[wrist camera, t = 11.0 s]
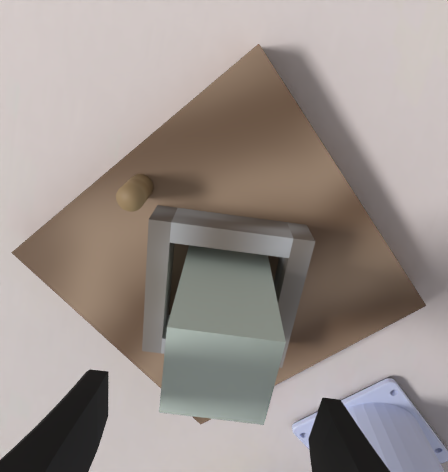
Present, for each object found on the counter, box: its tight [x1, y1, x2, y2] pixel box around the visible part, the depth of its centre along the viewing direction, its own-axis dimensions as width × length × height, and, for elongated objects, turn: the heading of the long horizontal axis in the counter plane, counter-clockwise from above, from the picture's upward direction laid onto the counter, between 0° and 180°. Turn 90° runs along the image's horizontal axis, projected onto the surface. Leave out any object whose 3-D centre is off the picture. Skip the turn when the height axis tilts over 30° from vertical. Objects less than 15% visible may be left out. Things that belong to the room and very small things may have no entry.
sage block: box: [159, 245, 286, 425], centre depth 16 cm, size 4×4×7 cm
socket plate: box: [12, 44, 426, 424], centre depth 19 cm, size 16×16×4 cm
